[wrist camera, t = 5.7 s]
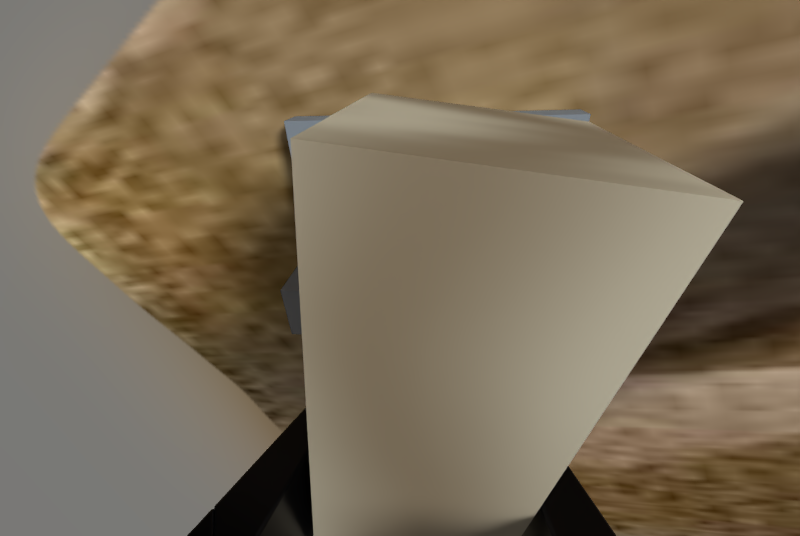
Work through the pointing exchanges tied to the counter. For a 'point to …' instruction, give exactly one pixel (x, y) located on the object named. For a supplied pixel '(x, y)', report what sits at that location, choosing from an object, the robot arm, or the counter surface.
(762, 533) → the counter surface
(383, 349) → the ash bar
